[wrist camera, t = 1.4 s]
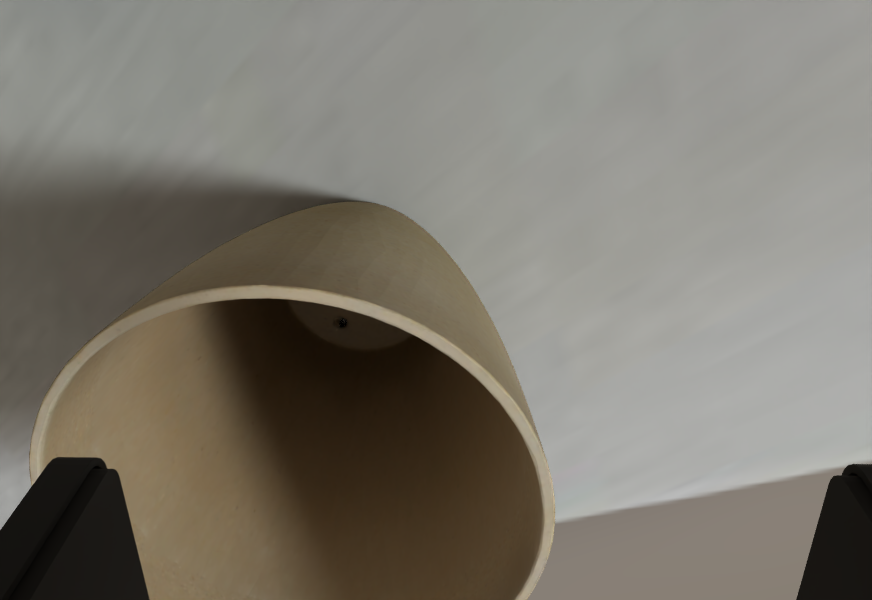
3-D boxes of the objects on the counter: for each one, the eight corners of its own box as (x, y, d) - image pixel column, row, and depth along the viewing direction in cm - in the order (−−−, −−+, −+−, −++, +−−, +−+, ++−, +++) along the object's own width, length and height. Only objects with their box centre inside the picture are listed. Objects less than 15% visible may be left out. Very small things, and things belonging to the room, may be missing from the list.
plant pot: (456, 62, 32) (449, 207, 18) (559, 358, 38) (614, 636, 24) (136, 181, 35) (-88, 386, 21) (282, 438, 41) (186, 728, 27)
